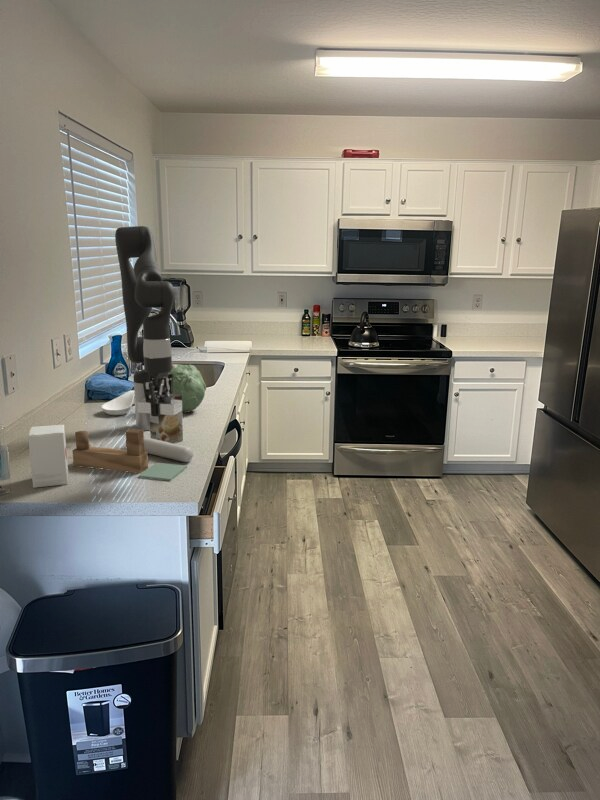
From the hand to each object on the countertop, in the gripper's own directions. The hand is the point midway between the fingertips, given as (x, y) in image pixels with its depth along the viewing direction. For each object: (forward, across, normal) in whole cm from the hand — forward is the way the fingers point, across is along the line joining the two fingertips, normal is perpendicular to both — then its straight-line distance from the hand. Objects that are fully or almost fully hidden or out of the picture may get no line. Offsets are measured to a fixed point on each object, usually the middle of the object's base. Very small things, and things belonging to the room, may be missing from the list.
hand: (160, 413), depth 165 cm
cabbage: (+18, -64, -23) cm, 70 cm away
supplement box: (+18, +14, -27) cm, 35 cm away
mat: (+18, 0, 0) cm, 18 cm away
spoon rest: (+18, -60, -46) cm, 78 cm away
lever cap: (-1, 0, 0) cm, 1 cm away
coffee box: (+18, -27, -12) cm, 35 cm away
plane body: (+18, 0, -17) cm, 25 cm away
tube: (+16, -11, -8) cm, 21 cm away
